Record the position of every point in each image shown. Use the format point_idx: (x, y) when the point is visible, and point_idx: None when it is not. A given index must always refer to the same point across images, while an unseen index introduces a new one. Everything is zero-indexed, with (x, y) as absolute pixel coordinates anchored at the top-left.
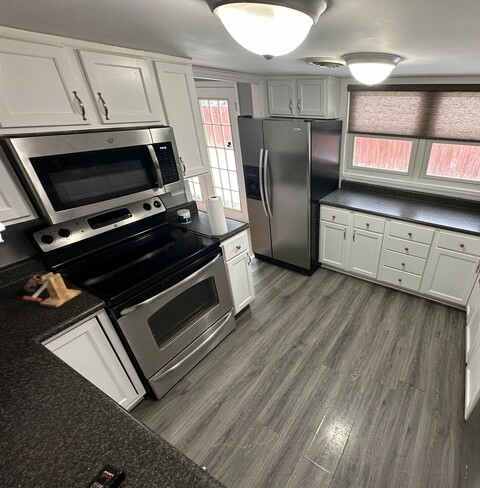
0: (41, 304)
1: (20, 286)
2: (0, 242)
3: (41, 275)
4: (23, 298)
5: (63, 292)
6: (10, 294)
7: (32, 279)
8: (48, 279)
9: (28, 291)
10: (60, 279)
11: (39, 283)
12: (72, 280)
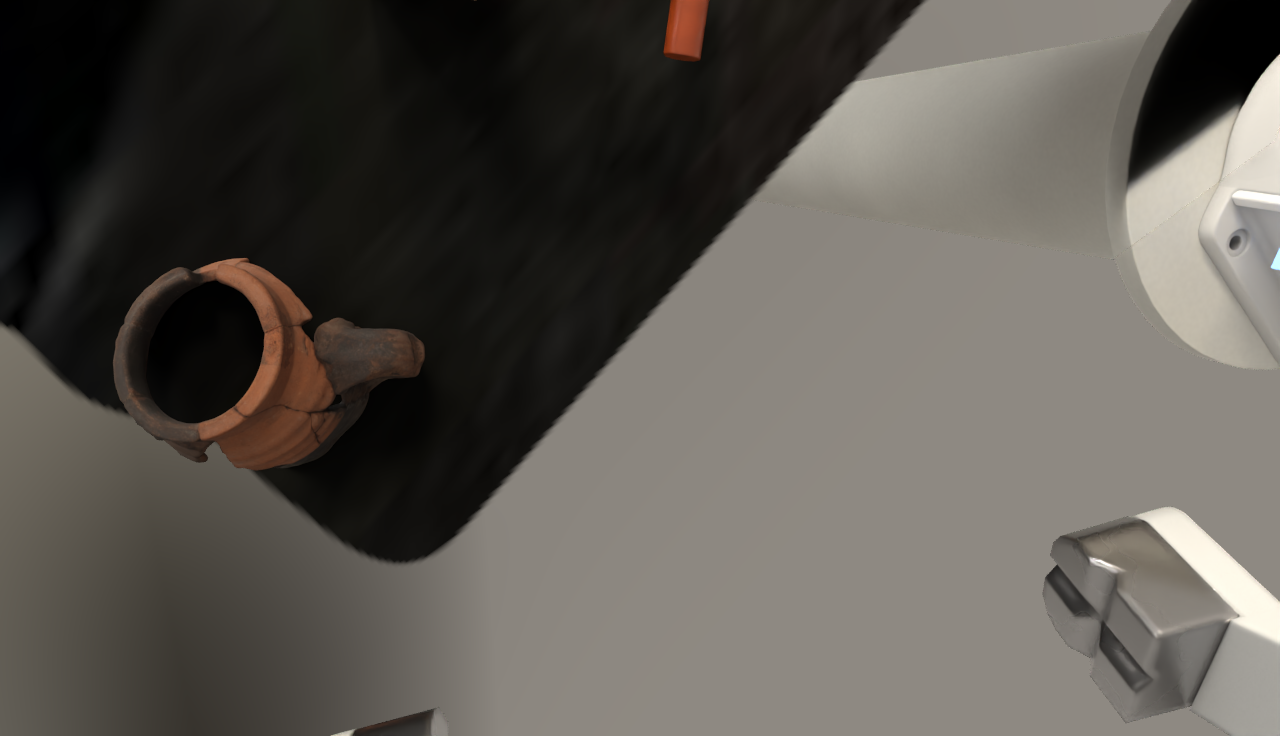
0: None
1: (332, 522)
2: (439, 715)
3: (157, 412)
4: (700, 51)
5: None
6: (474, 468)
7: (284, 397)
8: None
9: None
10: None
11: (302, 303)
12: (93, 47)
